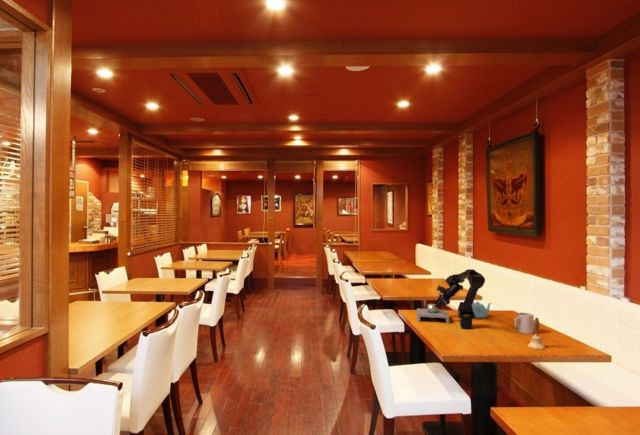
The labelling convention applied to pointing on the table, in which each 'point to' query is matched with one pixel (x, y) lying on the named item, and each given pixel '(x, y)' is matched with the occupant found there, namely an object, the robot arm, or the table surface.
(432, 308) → the grey beige cylinder
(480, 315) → the teapot
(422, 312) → the base
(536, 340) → the hand bell
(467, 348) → the table surface
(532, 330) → the mug
